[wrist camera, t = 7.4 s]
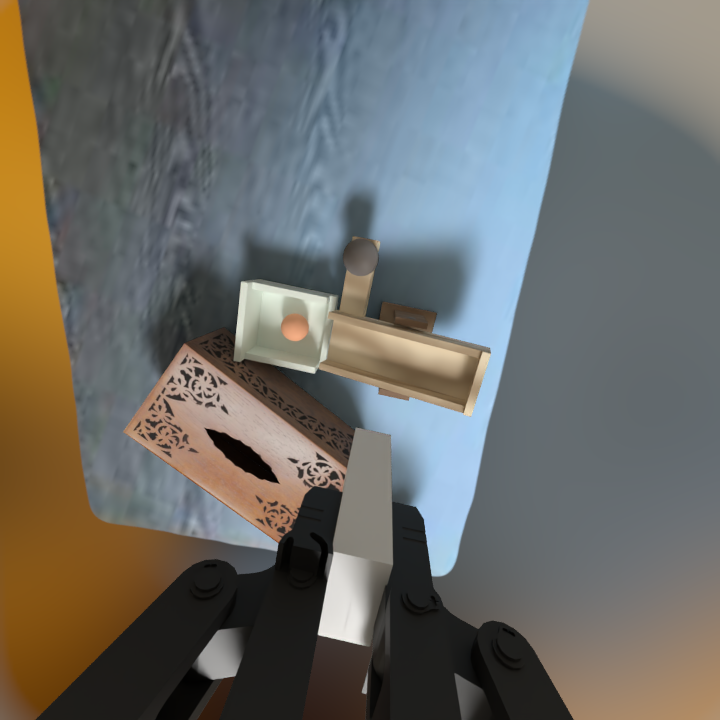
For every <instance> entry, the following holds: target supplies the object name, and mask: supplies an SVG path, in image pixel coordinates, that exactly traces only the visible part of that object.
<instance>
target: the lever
mask: <svg viewBox="0 0 720 720" xmlns="http://www.w3.org/2000/svg"><path fill="white" fill-rule="evenodd" d="M379 247H380V241H376V240H371V239H366V238H361V237H355V236H353V238H352V241H351V242H350V243H349V244H348V245H347V246H346V248H345V250H344V254H343V262H344V265H345V267H346V269H347V271H346V276H345V282H344V288H343V293H342V299H341V304H340V310H334V311H330V312H329V313H328V319H331V320H334V321H333V326H332V332H331V338H330V343H329V349H328V355H327V359H326V360H324V361H322V362H320V365H319V369H320V370H323V371H327V372H330V373H333V374H337V375H340V376H343V377H346V378H350V379H353V380H356V381H359V382H363V383H366V384H369V385H373V386H376V387H379V388H382V389H386V390H389V391H392V392H396V393H399V394H402V395H405V396H409V397H412V398H415V399H419V400H422V401H425V402H428V403H432V404H435V405H438V406H442V407H445V408H448V409H451V410H455V411H458V412H461V413H463V415H467V416H470V417H471V415H472V412H473V409H474V406H475V403H476V399H477V396H478V393H479V390H480V387H481V384H482V380H483V377H484V374H485V371H486V368H487V364H488V361H489V358H490V355H491V352H490V348H488V347H484V346H480V345H476V344H472V343H469V342H465V341H461V340H457V339H453V338H449V337H445V336H441V335H437V334H433V333H429V332H425V331H421V330H417V329H413V328H409V327H405V326H401V325H397V324H393V323H389V322H385V321H381V320H377V319H373V318H369V317H366V311H367V306H368V301H369V296H370V291H371V286H372V281H373V276H374V271H375V268H376V266H377V264H378V260H379V254H378V251H379Z"/></svg>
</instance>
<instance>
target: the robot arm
mask: <svg viewBox="0 0 720 720" xmlns="http://www.w3.org/2000/svg"><path fill="white" fill-rule="evenodd" d="M318 635H321V636H325V637H330V638H334V639H338V640H343V641H347V642H351V643H356V644H360V645H364V646H370V644H371V641H372V637H373V653H372V658H371V661H370V665H369V668H368V671H367V675H366V678H365V682H364V686H363V690H362V693H365V694H366V693H367V700H366V719H365V720H573V718H572V716H571V714H570V713H569V711H568V709H567V707H566V705H565V704H564V702H563V700H562V699H561V697H560V695H559V693H558V691H557V690H556V688H555V686H554V685H553V683H552V681H551V679H550V678H549V676H548V674H547V672H546V671H545V669H544V667H543V665H542V664H541V662H540V660H539V658H538V657H537V655H536V653H535V651H534V650H533V648H532V647H531V646H530V644H529V643H528V642H527V640H526V639H525V638H524V637H523V636H522V635H521V634H520V633H519V632H517V631H516V630H515V629H514V628H512V627H510V626H508V625H506V624H504V623H502V622H497V621H489V622H486V623H484V624H483V625H482V626H481V627H480V628H479V629H477V628H475V627H473V626H471V625H470V624H468V623H466V622H464V621H462V620H460V619H459V618H457V617H456V616H454V615H453V614H451V613H450V612H449V611H448V610H447V609H446V608H445V607H444V606H443V603H442V601H441V598H440V596H439V595H438V594H437V592H436V591H435V590H434V588H433V583H432V576H431V569H430V561H429V554H428V547H427V540H426V534H425V525H424V519H423V517H422V516H421V514H420V513H419V511H418V509H417V508H416V507H413V506H409V505H404V504H400V503H395V502H392V477H391V435H388V434H384V433H379V432H374V431H370V430H365V429H361V428H356V429H355V434H354V438H353V443H352V448H351V452H350V457H349V461H348V466H347V471H346V475H345V480H344V485H343V490H342V492H340V491H336V490H331V489H327V488H322V487H318V486H314V487H312V488H311V489H310V490H309V491H308V492H307V493H306V494H305V495H304V498H303V501H302V504H301V507H300V509H299V512H298V515H297V518H296V521H295V523H294V526H293V529H292V530H291V531H289V532H288V533H286V534H284V536H283V537H282V539H281V540H280V541H279V545H278V551H277V557H276V563H275V565H274V566H272V567H271V568H269V569H267V570H264V571H262V572H257V573H251V574H239V575H237V572H236V570H235V568H234V567H233V566H231V565H230V564H229V563H227V562H225V561H221V560H216V559H215V560H204V561H202V562H199V563H196V564H194V565H192V566H191V567H190V568H188V569H187V570H185V571H184V572H183V573H182V574H181V575H180V576H179V577H178V578H177V579H176V580H175V581H174V582H173V583H172V584H171V585H170V586H169V587H168V588H167V589H166V590H165V591H164V592H163V593H162V594H161V595H160V596H159V597H158V598H157V599H156V600H155V601H154V602H153V603H152V604H151V605H150V606H149V607H148V608H147V609H146V610H145V611H144V612H143V613H142V614H141V615H140V616H139V617H138V618H137V619H136V620H135V621H134V622H133V623H132V624H131V625H130V626H129V627H128V628H127V629H126V630H125V631H124V632H123V633H122V634H121V635H120V636H119V637H118V638H117V639H116V640H115V641H114V642H113V643H112V644H111V645H110V646H109V647H108V648H107V649H106V650H105V651H104V652H103V653H102V654H101V655H100V656H99V657H98V658H97V659H96V660H95V661H94V662H93V663H92V664H91V665H90V666H89V667H88V668H87V669H86V670H85V671H84V672H83V673H82V674H81V675H80V676H79V677H78V678H77V679H76V680H75V681H74V682H73V683H72V684H71V685H70V686H69V687H68V688H67V689H66V690H65V691H64V692H63V693H62V694H61V695H60V696H59V697H58V698H57V699H56V700H55V701H54V702H53V703H52V704H51V705H50V706H49V707H48V708H47V709H46V710H45V711H44V712H43V713H42V714H41V715H40V716H39V717H38V718H37V719H36V720H197V718H198V717H199V715H200V714H201V712H202V710H203V709H204V707H205V706H206V704H207V702H208V701H209V700H210V698H211V696H212V695H213V693H214V692H215V690H216V688H217V686H218V685H219V684H220V682H221V681H222V679H223V678H226V677H232V676H235V678H234V681H233V684H232V687H231V689H230V692H229V695H228V698H227V700H226V703H225V706H224V709H223V711H222V714H221V717H220V719H219V720H302V716H303V711H304V706H305V700H306V695H307V690H308V684H309V679H310V674H311V668H312V662H313V657H314V652H315V646H316V641H317V636H318Z"/></svg>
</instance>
